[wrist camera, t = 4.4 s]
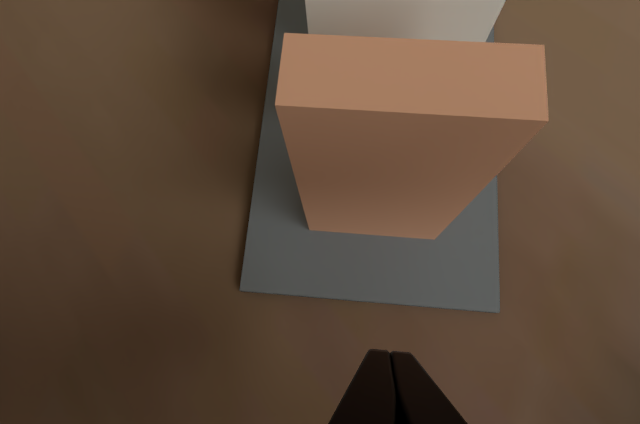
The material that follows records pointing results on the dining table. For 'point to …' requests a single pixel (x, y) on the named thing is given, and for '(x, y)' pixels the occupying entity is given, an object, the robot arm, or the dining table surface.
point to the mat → (359, 249)
